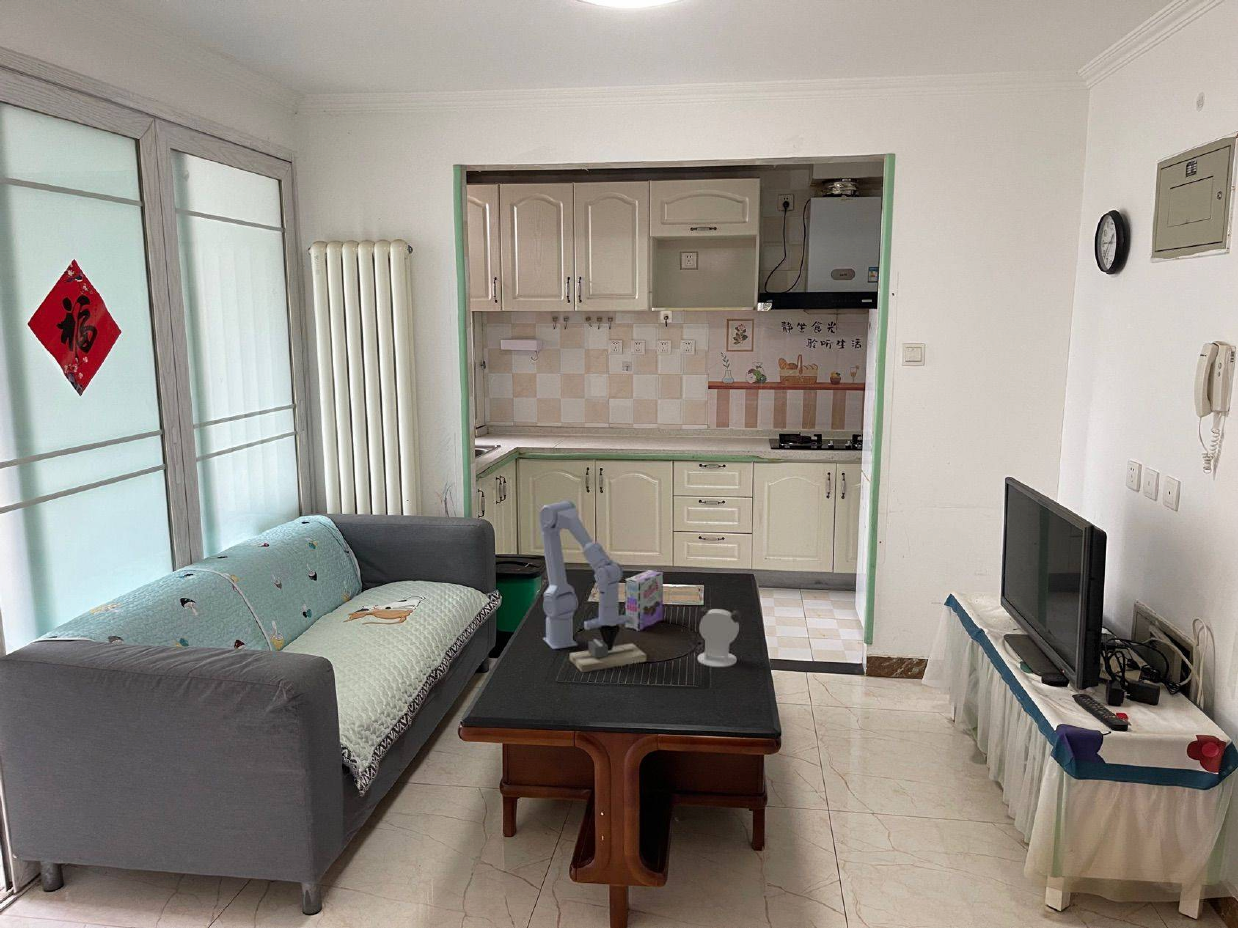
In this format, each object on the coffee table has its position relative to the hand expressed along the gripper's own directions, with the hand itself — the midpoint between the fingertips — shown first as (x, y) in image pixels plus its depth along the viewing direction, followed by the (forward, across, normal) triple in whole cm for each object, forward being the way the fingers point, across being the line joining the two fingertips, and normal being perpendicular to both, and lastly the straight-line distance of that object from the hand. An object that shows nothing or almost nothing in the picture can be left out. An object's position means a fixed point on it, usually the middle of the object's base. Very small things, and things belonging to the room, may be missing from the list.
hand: (608, 649), depth 256 cm
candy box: (+4, +23, +24) cm, 33 cm away
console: (+3, 0, 0) cm, 3 cm away
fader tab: (+1, -3, 0) cm, 3 cm away
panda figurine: (+4, +30, -12) cm, 32 cm away
